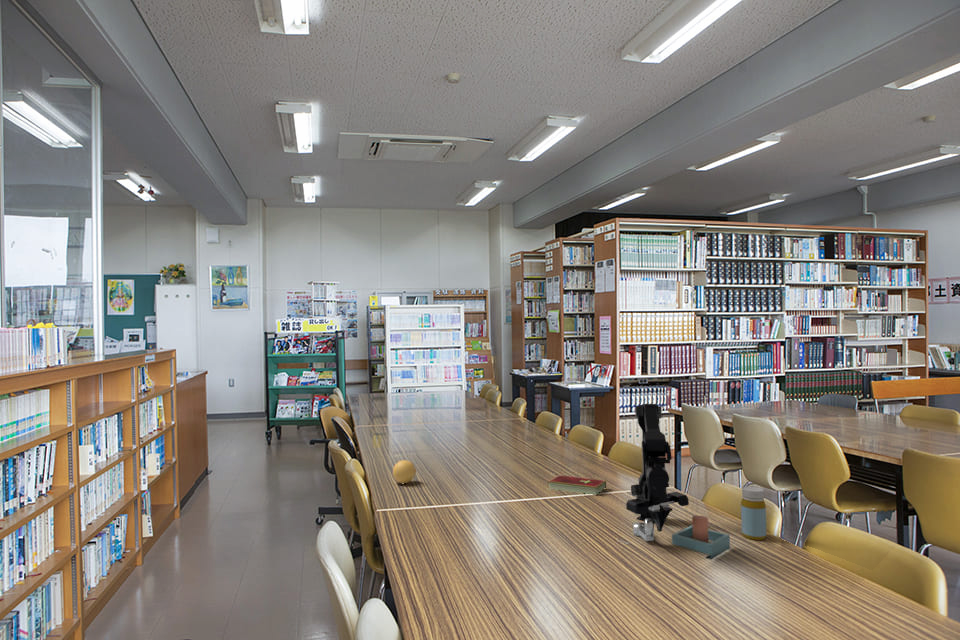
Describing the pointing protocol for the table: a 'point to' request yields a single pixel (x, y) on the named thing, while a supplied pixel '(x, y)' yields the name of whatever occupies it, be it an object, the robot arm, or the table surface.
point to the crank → (644, 529)
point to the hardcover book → (577, 484)
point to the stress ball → (404, 471)
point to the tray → (713, 549)
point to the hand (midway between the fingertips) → (659, 531)
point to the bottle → (753, 513)
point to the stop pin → (700, 528)
